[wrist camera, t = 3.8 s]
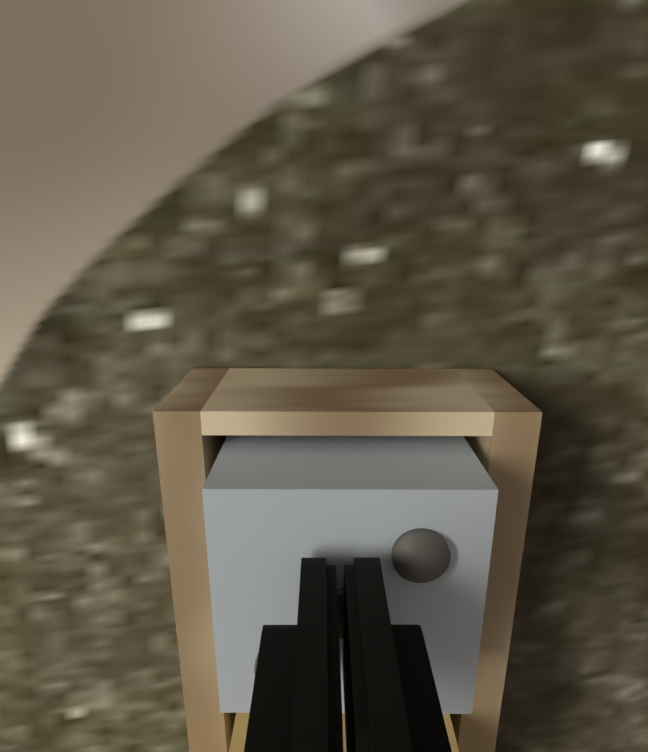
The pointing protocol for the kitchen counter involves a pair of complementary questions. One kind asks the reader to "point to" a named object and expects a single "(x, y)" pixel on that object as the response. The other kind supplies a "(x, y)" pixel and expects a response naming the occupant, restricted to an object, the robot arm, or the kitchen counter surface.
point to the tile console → (340, 418)
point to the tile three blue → (349, 544)
